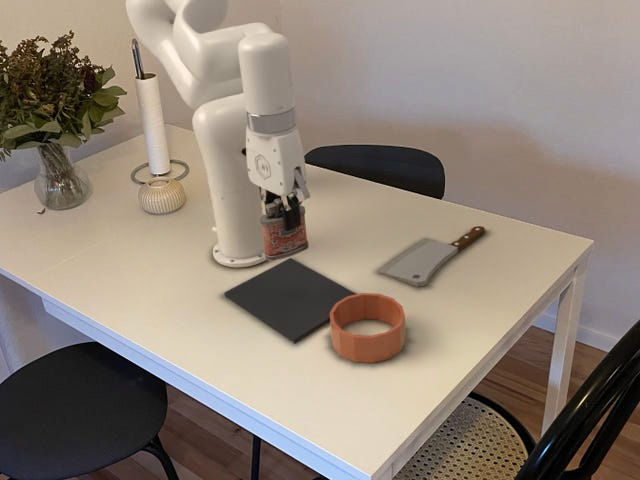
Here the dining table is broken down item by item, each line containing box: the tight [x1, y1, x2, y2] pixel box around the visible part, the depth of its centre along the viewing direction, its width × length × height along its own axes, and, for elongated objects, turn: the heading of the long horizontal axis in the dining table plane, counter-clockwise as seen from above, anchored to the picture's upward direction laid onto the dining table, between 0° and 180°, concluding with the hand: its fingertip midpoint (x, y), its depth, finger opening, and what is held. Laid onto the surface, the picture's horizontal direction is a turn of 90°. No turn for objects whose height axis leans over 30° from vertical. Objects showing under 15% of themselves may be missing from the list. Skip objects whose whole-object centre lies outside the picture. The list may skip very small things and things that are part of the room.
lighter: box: [260, 195, 310, 262], centre depth 112 cm, size 8×3×10 cm, turn 117°
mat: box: [224, 257, 357, 344], centre depth 120 cm, size 20×16×1 cm
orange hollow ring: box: [329, 292, 406, 364], centre depth 108 cm, size 12×12×5 cm
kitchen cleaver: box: [379, 225, 486, 288], centre depth 129 cm, size 24×1×10 cm
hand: (283, 222), depth 112 cm, fingers closed on lighter, 3 cm apart
